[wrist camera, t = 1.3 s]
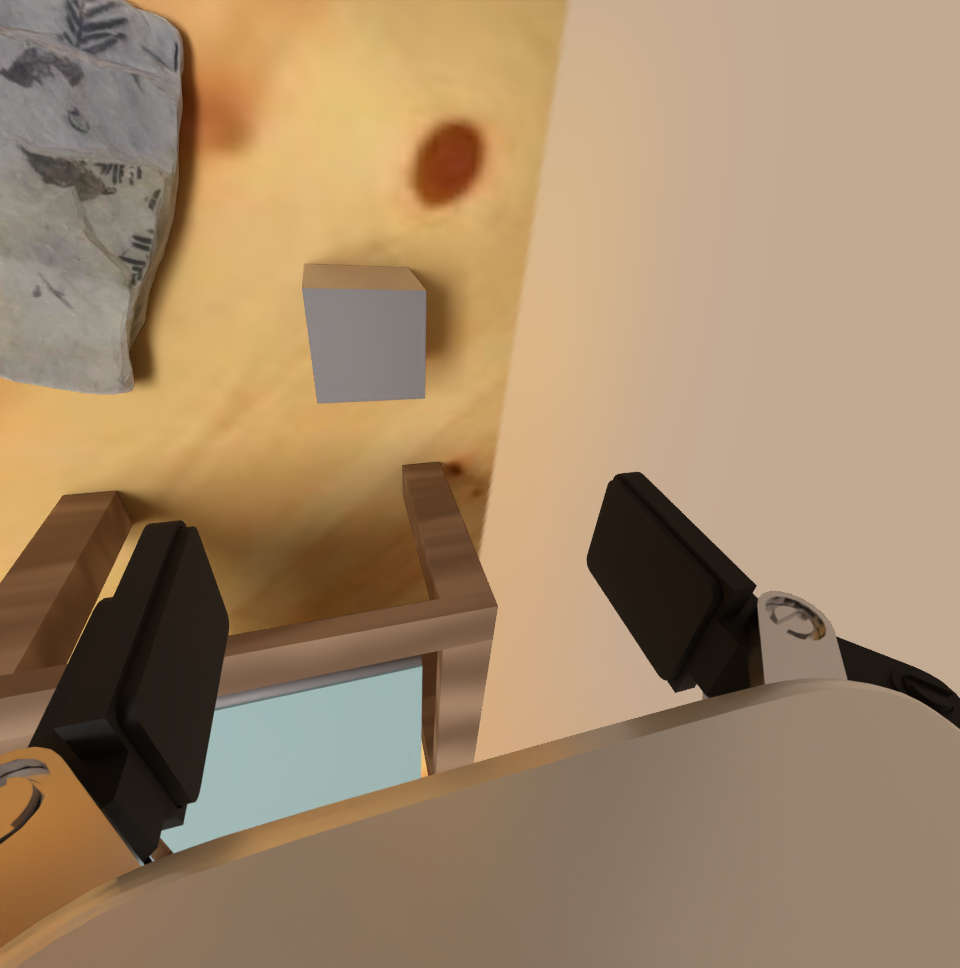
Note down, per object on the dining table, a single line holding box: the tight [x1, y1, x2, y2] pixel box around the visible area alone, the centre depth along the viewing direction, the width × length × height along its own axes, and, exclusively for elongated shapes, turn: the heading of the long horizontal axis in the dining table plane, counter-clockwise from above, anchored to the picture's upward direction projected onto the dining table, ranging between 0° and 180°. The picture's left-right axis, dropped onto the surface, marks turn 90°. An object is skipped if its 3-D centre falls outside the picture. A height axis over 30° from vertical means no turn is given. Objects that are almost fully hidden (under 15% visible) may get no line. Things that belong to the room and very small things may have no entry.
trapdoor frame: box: [0, 462, 498, 861], centre depth 29 cm, size 21×21×12 cm
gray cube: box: [302, 264, 426, 403], centre depth 22 cm, size 5×5×5 cm
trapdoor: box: [160, 655, 422, 853], centre depth 24 cm, size 14×14×1 cm
